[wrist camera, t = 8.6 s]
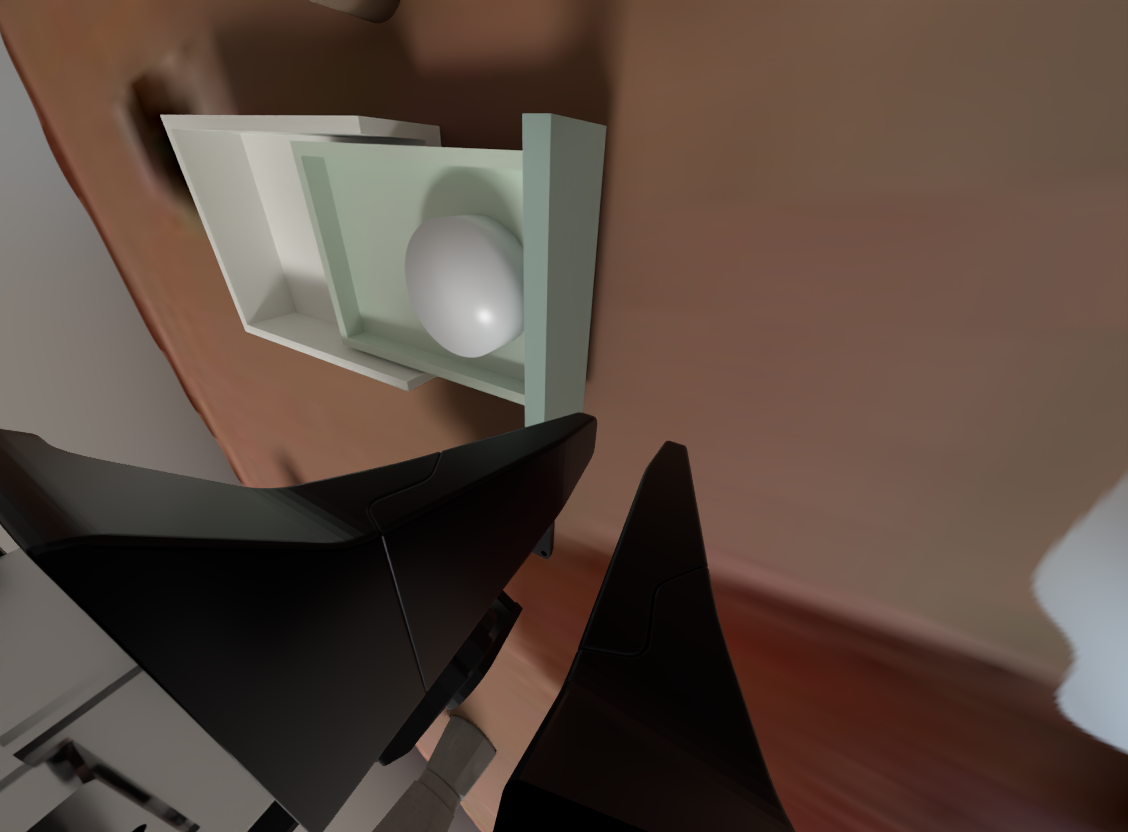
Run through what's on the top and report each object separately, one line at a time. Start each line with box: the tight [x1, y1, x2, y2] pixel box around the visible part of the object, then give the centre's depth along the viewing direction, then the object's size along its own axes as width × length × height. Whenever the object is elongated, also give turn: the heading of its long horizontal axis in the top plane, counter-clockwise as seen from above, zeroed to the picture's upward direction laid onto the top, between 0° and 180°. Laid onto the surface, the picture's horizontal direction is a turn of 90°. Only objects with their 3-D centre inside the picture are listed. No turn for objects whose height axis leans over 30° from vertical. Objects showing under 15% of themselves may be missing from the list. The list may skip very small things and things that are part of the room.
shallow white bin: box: [160, 115, 441, 391], centre depth 24 cm, size 12×16×4 cm
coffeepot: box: [372, 716, 496, 832], centre depth 57 cm, size 15×9×18 cm, turn 141°
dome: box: [405, 214, 524, 357], centre depth 19 cm, size 6×6×2 cm
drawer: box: [290, 113, 607, 427], centre depth 20 cm, size 12×16×4 cm
